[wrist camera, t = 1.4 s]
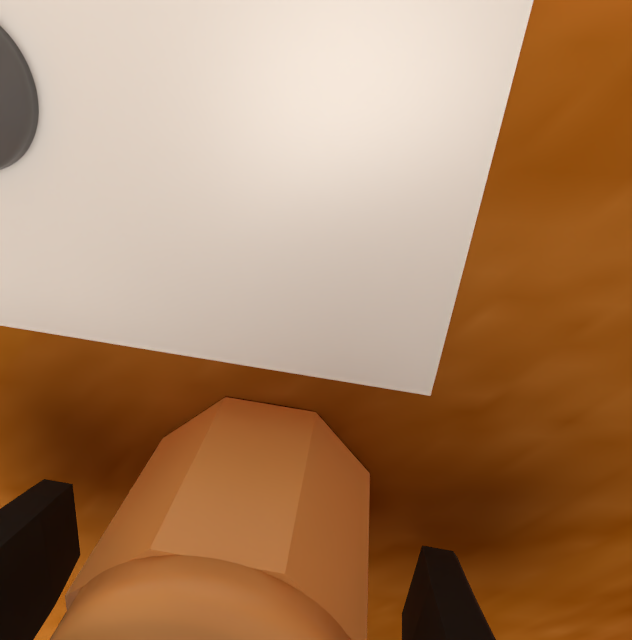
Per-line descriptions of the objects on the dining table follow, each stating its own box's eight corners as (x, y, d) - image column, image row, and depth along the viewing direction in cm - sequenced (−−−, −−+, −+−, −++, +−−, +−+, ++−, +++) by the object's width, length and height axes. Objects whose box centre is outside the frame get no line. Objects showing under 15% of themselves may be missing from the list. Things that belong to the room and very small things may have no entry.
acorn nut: (383, 421, 11) (389, 738, 5) (349, 578, 13) (330, 918, 7) (160, 384, 11) (-41, 654, 6) (162, 543, 13) (16, 849, 8)
